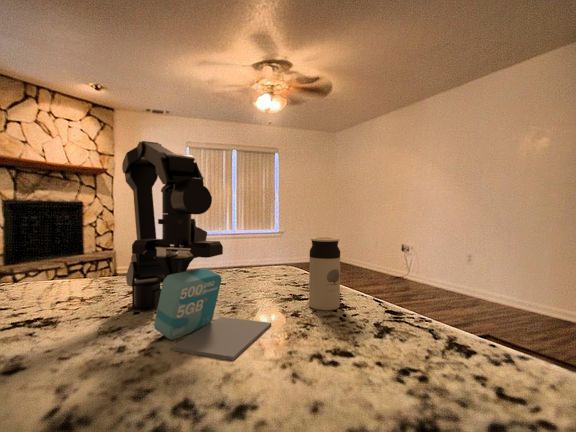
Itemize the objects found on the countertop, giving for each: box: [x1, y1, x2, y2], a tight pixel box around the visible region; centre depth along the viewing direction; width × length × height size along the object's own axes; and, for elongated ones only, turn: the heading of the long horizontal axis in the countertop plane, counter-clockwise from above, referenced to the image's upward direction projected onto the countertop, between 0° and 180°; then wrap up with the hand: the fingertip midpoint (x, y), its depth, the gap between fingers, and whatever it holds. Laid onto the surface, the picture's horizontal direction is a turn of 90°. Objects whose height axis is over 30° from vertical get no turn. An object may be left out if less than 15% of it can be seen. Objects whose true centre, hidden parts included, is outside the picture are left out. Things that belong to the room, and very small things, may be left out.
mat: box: [170, 316, 272, 361], centre depth 67 cm, size 12×18×1 cm
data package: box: [153, 267, 222, 341], centre depth 69 cm, size 12×4×12 cm, turn 149°
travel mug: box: [308, 236, 341, 312], centre depth 89 cm, size 8×8×18 cm
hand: (177, 288), depth 71 cm, fingers closed
